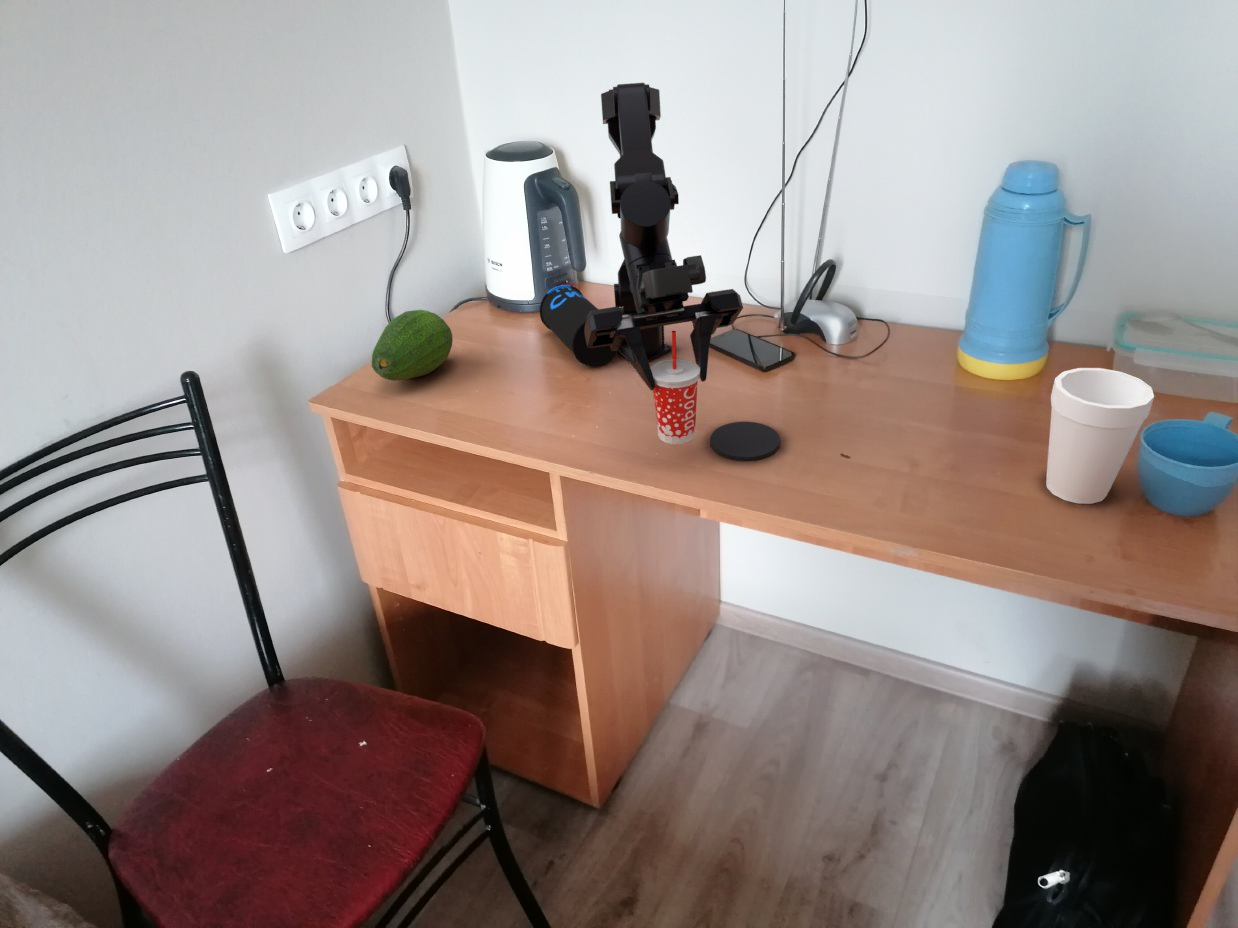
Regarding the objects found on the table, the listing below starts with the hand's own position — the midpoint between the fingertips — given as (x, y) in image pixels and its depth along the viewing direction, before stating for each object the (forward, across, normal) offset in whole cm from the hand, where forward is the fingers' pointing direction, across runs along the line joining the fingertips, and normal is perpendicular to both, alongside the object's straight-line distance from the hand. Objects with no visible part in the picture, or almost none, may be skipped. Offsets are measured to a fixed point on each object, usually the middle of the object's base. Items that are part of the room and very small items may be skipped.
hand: (678, 384), depth 101 cm
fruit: (-19, -32, +36) cm, 51 cm away
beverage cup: (+5, 0, +7) cm, 8 cm away
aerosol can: (-17, -4, +27) cm, 32 cm away
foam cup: (+22, +41, -6) cm, 47 cm away
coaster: (+6, +9, +10) cm, 15 cm away
